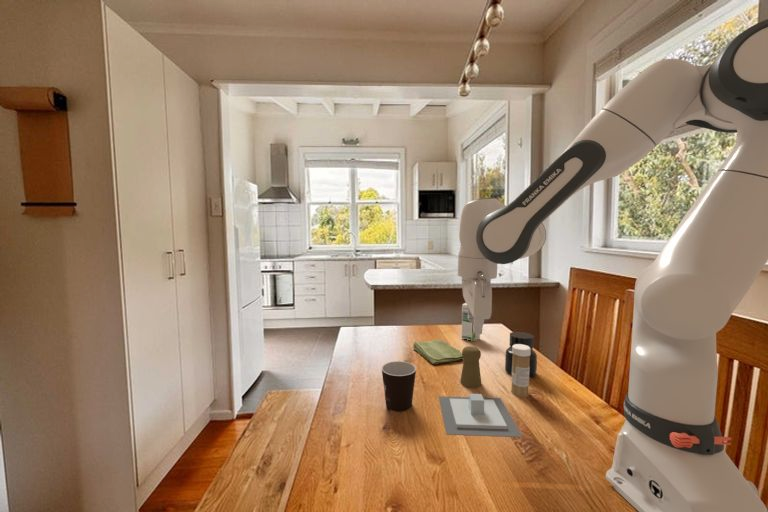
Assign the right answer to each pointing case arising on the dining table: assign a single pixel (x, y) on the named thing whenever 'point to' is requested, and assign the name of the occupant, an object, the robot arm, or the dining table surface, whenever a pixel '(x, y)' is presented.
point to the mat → (452, 430)
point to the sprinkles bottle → (520, 370)
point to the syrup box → (467, 326)
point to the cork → (471, 367)
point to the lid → (476, 413)
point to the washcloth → (437, 351)
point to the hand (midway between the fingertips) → (474, 326)
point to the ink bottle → (525, 340)
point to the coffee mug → (398, 385)
